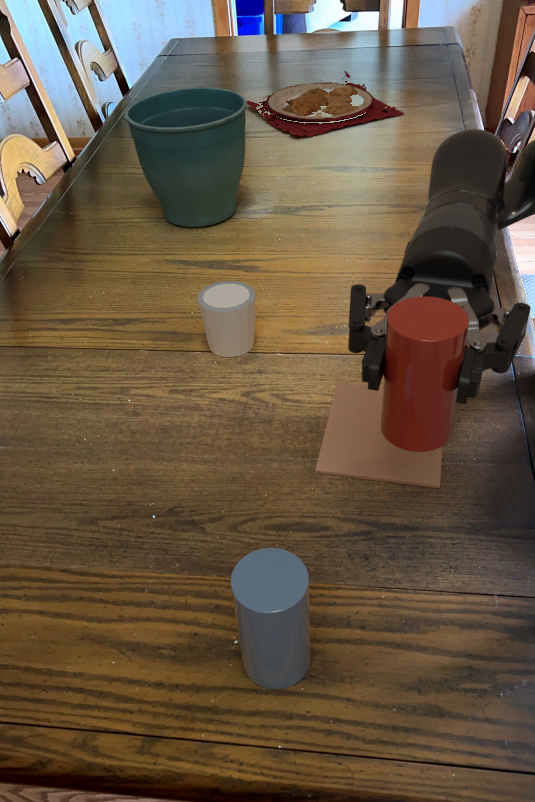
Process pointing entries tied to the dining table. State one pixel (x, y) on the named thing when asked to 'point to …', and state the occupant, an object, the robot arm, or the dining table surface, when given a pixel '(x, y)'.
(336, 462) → the terracotta mat
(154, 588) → the dining table surface
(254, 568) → the grey upright cylinder
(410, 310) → the glossy red cylinder
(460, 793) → the dining table surface
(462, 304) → the robot arm
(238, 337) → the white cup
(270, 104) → the plate with food
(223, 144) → the flower pot
